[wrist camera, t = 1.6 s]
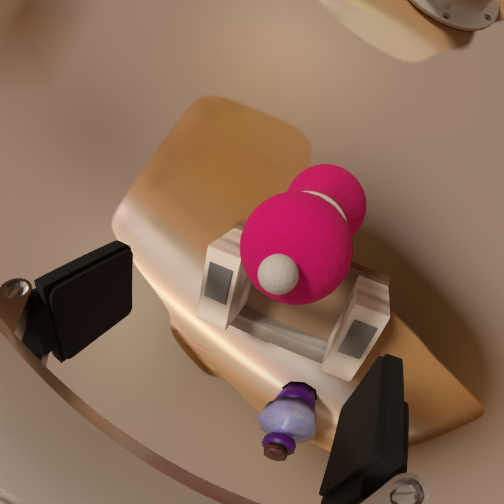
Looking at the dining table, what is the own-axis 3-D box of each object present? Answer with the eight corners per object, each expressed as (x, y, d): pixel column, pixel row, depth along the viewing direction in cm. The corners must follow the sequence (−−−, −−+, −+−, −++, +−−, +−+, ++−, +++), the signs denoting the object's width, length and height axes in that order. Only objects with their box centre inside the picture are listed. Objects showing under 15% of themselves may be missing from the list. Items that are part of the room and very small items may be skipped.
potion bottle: (262, 379, 42) (230, 438, 32) (311, 368, 38) (286, 435, 28) (289, 414, 43) (264, 471, 33) (336, 405, 39) (318, 469, 29)
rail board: (240, 220, 34) (207, 241, 27) (389, 276, 30) (392, 314, 23) (223, 302, 39) (193, 334, 33) (348, 353, 35) (339, 396, 28)
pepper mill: (378, 212, 28) (388, 326, 11) (318, 240, 31) (248, 365, 14) (344, 149, 27) (304, 158, 10) (285, 181, 30) (168, 242, 13)
